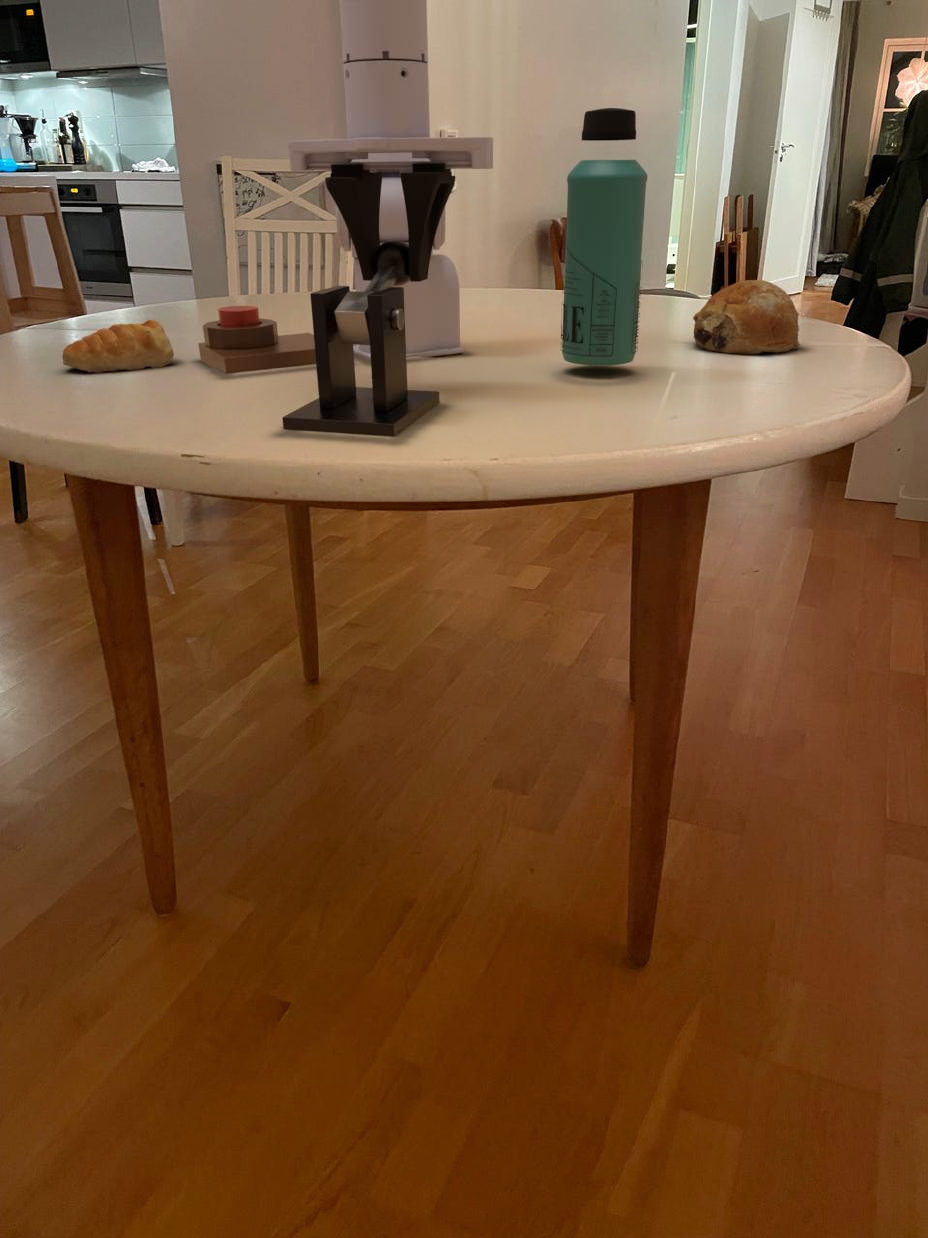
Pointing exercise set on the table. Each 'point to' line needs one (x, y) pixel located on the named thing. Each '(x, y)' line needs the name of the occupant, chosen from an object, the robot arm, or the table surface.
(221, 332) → the button block
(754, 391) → the table surface
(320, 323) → the bracket
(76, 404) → the table surface
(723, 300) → the bread roll
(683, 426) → the table surface
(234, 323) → the button
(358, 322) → the lever
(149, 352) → the pastry
